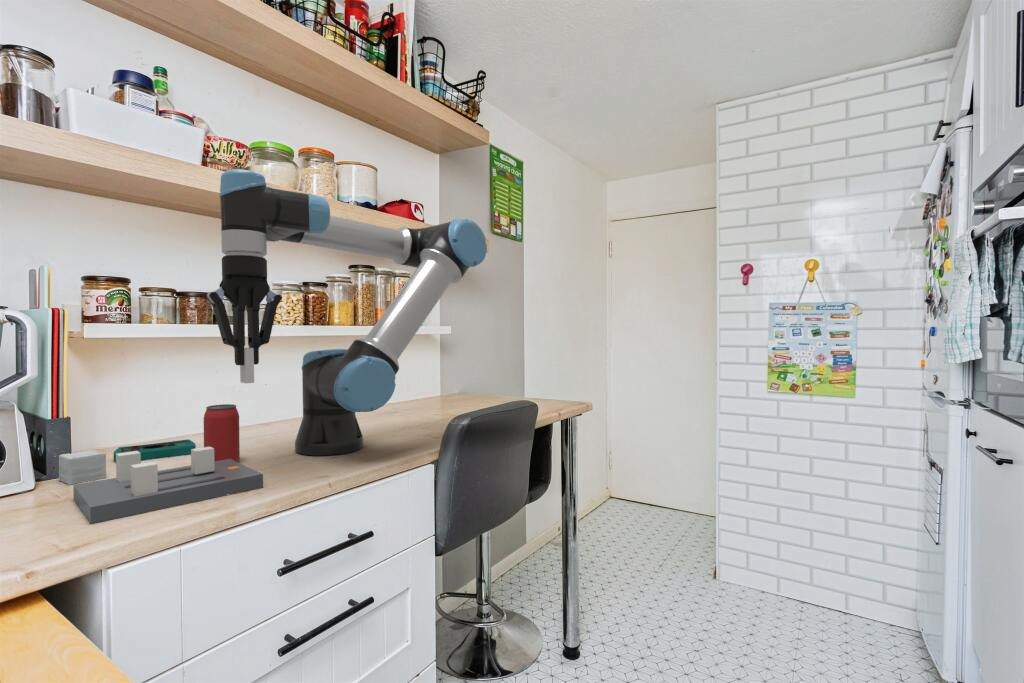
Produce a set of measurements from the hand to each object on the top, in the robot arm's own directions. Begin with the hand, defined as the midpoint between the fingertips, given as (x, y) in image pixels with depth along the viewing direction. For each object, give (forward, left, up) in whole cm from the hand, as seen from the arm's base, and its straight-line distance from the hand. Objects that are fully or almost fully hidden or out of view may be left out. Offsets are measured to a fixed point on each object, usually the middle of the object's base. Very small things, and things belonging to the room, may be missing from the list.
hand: (247, 382), depth 98 cm
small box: (+21, -22, -18) cm, 36 cm away
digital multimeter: (+7, -34, -19) cm, 39 cm away
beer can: (-1, -16, -18) cm, 24 cm away
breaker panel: (+12, 0, -18) cm, 22 cm away
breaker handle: (+8, 0, -15) cm, 17 cm away
